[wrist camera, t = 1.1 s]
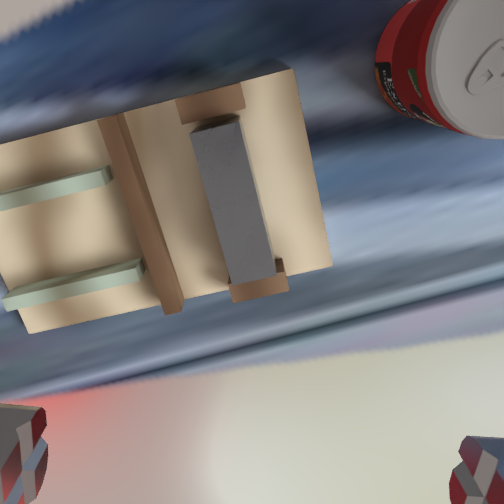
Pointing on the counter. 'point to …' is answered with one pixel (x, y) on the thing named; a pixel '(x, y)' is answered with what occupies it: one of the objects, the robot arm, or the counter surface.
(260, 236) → the bar
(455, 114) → the canned food
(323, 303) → the counter surface
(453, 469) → the robot arm
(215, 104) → the lock board
